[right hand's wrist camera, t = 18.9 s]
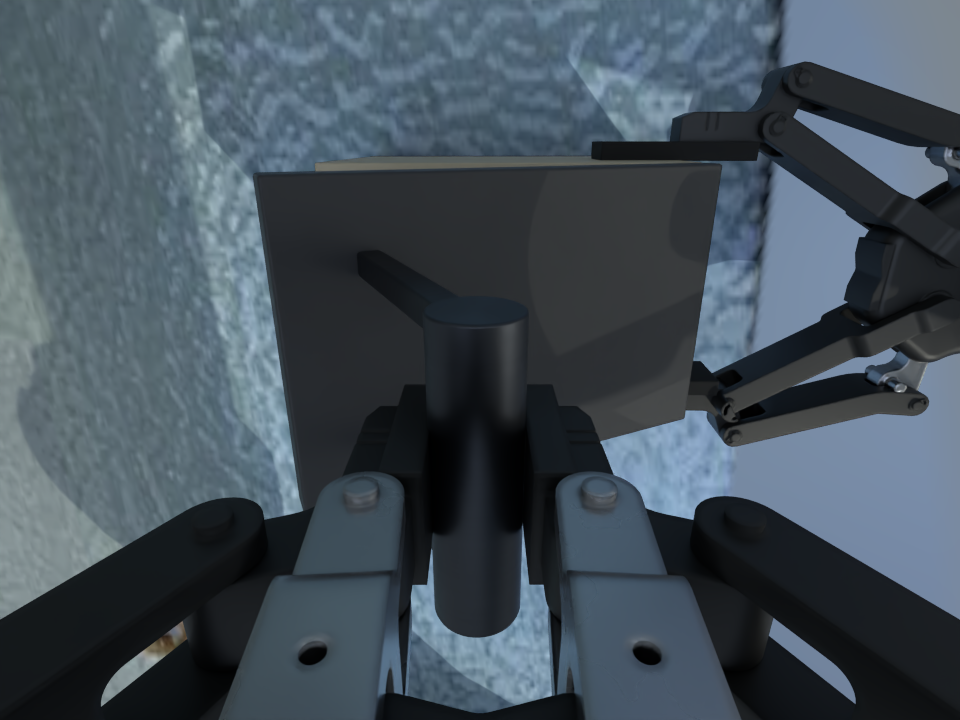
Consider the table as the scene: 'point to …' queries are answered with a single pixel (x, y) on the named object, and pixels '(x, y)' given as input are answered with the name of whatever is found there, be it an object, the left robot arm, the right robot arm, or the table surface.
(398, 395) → the lid
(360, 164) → the chest
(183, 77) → the table surface
